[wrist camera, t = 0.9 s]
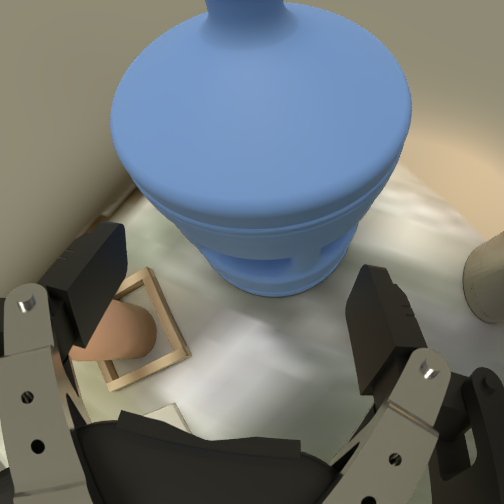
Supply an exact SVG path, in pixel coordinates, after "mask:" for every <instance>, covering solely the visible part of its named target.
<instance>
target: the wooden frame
mask: <svg viewBox="0 0 504 504" xmlns="http://www.w3.org/2000/svg"><path fill="white" fill-rule="evenodd" d="M143 284H144V285H145V287H146V289H147V292H148V294H149V297H150V299H151V301H152V304H153V306H154V308H155V311H156V313H157V315H158V318H159V320H160V322H161V324H162V326H163V329H164V331H165V333H166V335H167V337H168V340H169V342H170V344H171V346H172V348H173V350H174V351H173V352H171V353H169V354H167V355H165V356H163V357H161V358H159V359H157V360H155V361H153V362H151V363H149V364H147V365H145V366H143V367H141V368H139V369H137V370H135V371H133V372H130V373H128V374H126V375H124V376H122V377H120V378H119V377H118V375H117V373H116V370H115V368H114V366H113V363H112V361H111V360H101V361H97V363H98V365H99V368H100V370H101V372H102V375H103V377H104V380H105V382H106V384H107V386H108V389H109V391H110V392H113V391H117V390H119V389H122V388H124V387H126V386H128V385H130V384H133V383H135V382H137V381H139V380H141V379H143V378H146V377H148V376H150V375H152V374H154V373H156V372H158V371H160V370H163V369H165V368H167V367H169V366H171V365H173V364H175V363H177V362H179V361H181V360H183V359H185V358H187V357H189V356H191V353H190V351H189V349H188V347H187V345H186V343H185V341H184V339H183V337H182V335H181V333H180V331H179V329H178V326H177V324H176V322H175V320H174V318H173V316H172V313H171V311H170V309H169V307H168V305H167V302H166V300H165V298H164V296H163V293H162V291H161V289H160V286H159V284H158V282H157V279H156V277H155V275H154V272H153V270H152V269H150V268H148V267H145V268H143V269H141V270H140V271H138V272H137V273H135V274H133V275H132V276H130V277H128V278H127V279H125V280H124V281H123V282H122V284H121V286H120V287H119V289H118V291H117V293H116V294H115V296H114V298H113V300H118V299H120V298H121V297H123V296H125V295H126V294H128V293H130V292H131V291H133V290H135V289H136V288H138V287H140V286H142V285H143Z"/></svg>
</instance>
